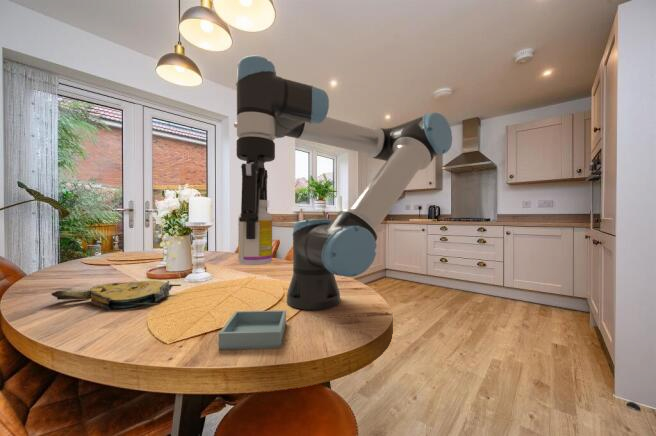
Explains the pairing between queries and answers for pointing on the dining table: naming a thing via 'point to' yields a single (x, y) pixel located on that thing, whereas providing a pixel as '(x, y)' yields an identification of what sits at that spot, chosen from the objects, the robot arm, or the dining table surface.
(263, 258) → the supplement bottle
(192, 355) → the dining table surface
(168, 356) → the dining table surface
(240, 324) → the tray
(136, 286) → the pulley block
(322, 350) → the dining table surface
